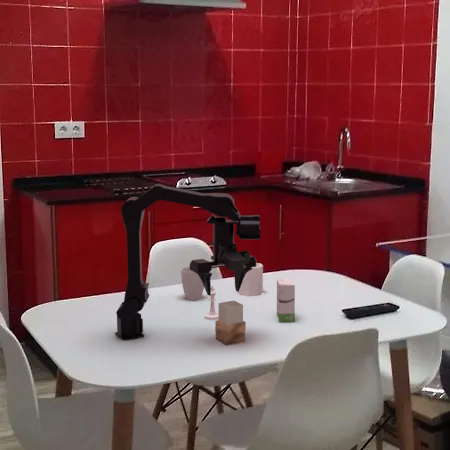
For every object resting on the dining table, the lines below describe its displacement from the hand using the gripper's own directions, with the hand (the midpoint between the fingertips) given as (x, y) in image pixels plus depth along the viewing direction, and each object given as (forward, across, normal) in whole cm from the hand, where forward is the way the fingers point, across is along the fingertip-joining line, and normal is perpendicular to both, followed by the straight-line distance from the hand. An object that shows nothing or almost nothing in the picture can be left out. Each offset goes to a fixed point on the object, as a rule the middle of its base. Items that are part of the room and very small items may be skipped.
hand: (223, 293), depth 215 cm
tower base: (+13, 0, -4) cm, 14 cm away
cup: (+13, +11, +39) cm, 43 cm away
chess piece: (+13, +6, +17) cm, 23 cm away
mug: (+13, +31, +38) cm, 50 cm away
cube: (+7, 0, -4) cm, 8 cm away
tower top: (+10, 0, -4) cm, 11 cm away
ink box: (+13, +25, +6) cm, 29 cm away
